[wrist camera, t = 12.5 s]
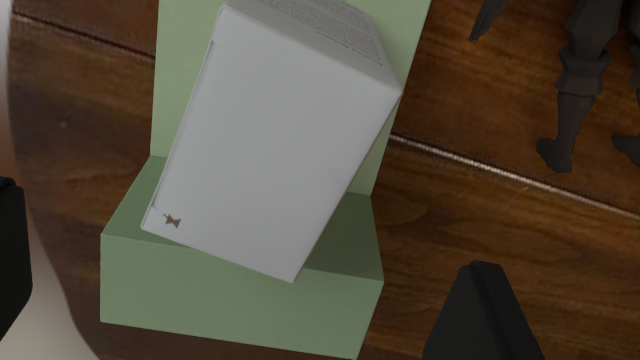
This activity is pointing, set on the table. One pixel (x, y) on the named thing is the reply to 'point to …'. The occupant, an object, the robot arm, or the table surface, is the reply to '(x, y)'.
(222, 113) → the small box
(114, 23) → the table surface
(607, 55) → the figurine
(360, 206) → the green l-shaped step
